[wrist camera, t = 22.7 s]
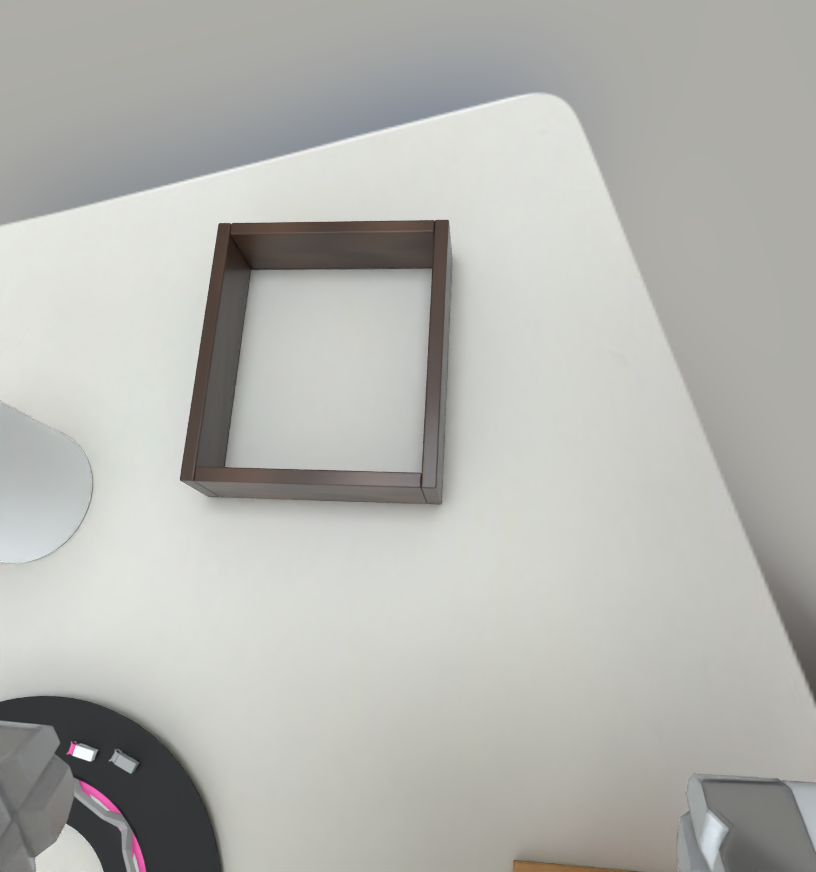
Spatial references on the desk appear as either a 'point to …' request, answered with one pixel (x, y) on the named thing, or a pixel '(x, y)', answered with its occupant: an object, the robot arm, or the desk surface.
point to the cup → (38, 487)
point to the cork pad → (556, 868)
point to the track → (124, 788)
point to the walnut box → (222, 340)
